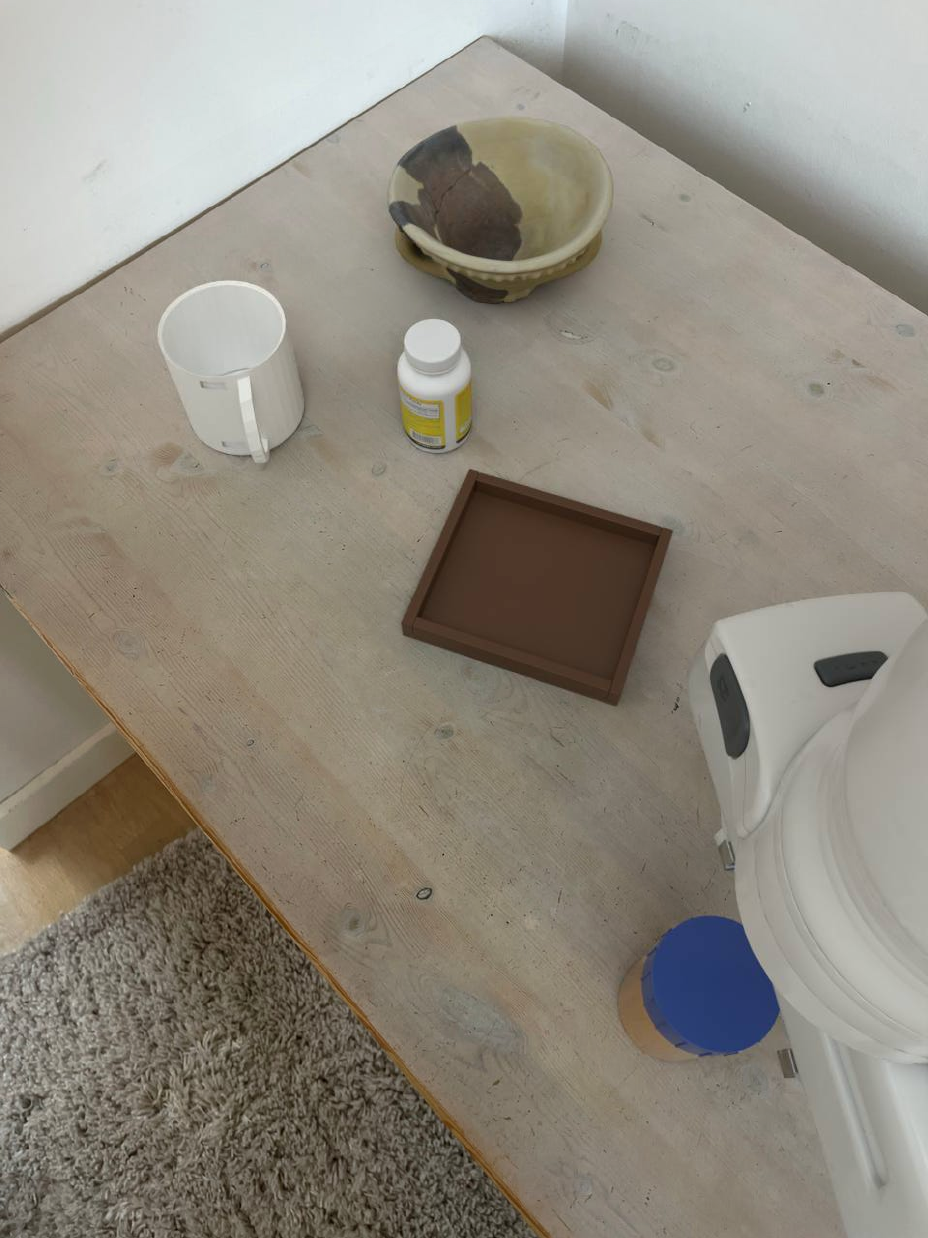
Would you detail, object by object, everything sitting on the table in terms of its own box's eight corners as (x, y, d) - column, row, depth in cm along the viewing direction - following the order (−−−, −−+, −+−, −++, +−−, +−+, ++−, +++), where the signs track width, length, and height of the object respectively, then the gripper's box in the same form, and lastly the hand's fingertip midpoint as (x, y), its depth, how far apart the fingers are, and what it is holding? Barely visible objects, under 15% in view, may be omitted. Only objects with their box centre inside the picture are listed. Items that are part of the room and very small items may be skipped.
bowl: (607, 211, 88) (622, 114, 79) (589, 366, 80) (604, 276, 71) (413, 192, 89) (408, 94, 80) (376, 342, 81) (366, 251, 72)
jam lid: (775, 951, 50) (795, 941, 47) (749, 1077, 48) (767, 1075, 45) (658, 908, 51) (670, 896, 48) (625, 1029, 49) (635, 1024, 46)
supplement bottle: (457, 392, 78) (455, 302, 70) (482, 443, 76) (483, 356, 67) (393, 411, 78) (383, 323, 69) (416, 464, 75) (409, 379, 67)
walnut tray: (668, 544, 72) (673, 529, 70) (616, 706, 66) (620, 695, 64) (469, 484, 74) (469, 468, 73) (402, 635, 69) (401, 622, 67)
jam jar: (730, 974, 59) (789, 944, 48) (705, 1078, 56) (762, 1071, 45) (633, 938, 60) (670, 901, 49) (605, 1039, 57) (637, 1023, 46)
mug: (190, 372, 79) (158, 286, 71) (302, 361, 80) (283, 274, 72) (190, 495, 74) (155, 417, 66) (310, 482, 75) (290, 404, 66)
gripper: (1222, 1325, 22) (946, 1246, 34) (890, 545, 31) (767, 706, 43) (954, 1385, 21) (772, 1282, 34) (696, 574, 30) (628, 729, 43)
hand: (768, 954), depth 38 cm, fingers open, 7 cm apart
